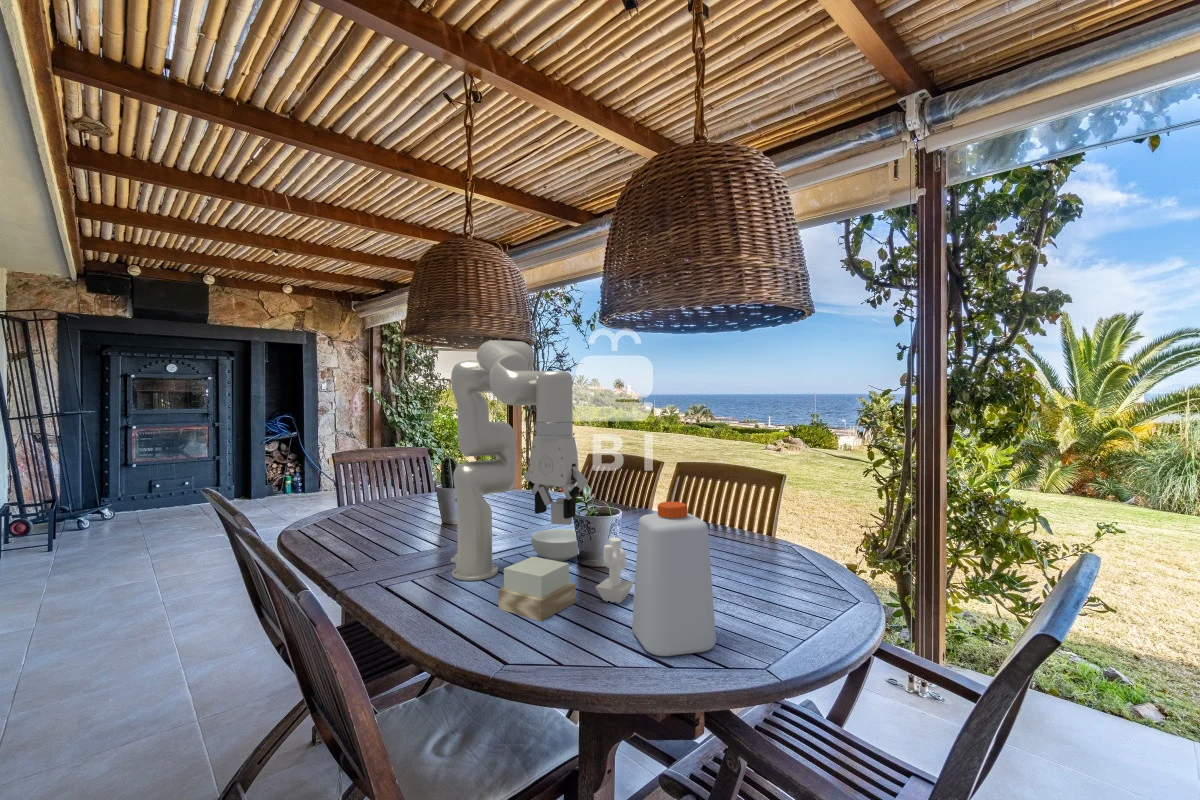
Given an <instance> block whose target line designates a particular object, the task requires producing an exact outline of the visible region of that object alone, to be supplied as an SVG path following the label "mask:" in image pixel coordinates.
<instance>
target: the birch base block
mask: <svg viewBox="0 0 1200 800" xmlns="http://www.w3.org/2000/svg"><path fill="white" fill-rule="evenodd" d="M576 585H577V584H576V583H573V582H570V581H569V584H568V585H566V586H564V587H562V588H560V589H558V590H557V591H555V592H553V593H551V594H549V595H547V596H545V597H543V598H542V599H541V598H537V597H533V596H529V595H524V594H520V593H516V592H512V591H508V590H504V586H503V587H501V588H498V590H497V591H498V595H497V596H498V598H497V599H498V609H499V610H502V611H505V612H507V613H511V614H515V615H518V616H522V617H525V618H529V619H532V620H535V621H538V622H542V621H544V620H546V619H548V618H550V617H552V616H553V615H555V614H557V613H559V612H561V611H563V610H565V609H566V607H567V608H568V607H571V606H573V605H574V604H576V603H577V602H576V599H577V597H576V596H577V594H576ZM575 602H576V603H575Z"/></svg>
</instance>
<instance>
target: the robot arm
mask: <svg viewBox="0 0 1200 800" xmlns="http://www.w3.org/2000/svg"><path fill="white" fill-rule="evenodd" d="M534 364H535V354H534V351H533V349H532V347H531V346H530V345H529V343H526V342H525V341H518V340H516V341H515V340H497V339H496V340H495V339H494V340H493V339H492V340H488V341H486V342H484V343H482V344H481V345H480V346H479V347H478V349H477V352H476V359H474V360H473V359H472V360H464V361H463V360H462V361H460V362H457V363H456V364H455V365H454V366H453V367H452V370H451V376H450V377H451V378H450V382H451V388H452V389H451V390H452V394H453V395H454V399H455V401H456V406H457V436H458V437H457V439H458V440H457V441H458V449H459V452H460V453H461V454H462V455H463V456H466V457H483V456H484V457H485V456H487V457H488V456H495V458H496V459H489V460H488V459H487V460H473V461H471V460H470V461H466V462H463V463H461V464H458V465H457V466H456V468H455V469H454V471H453V475H452V476H453V477H452V479H453V485H454V492H455V496H456V497H455V498H456V515H457V517H456V518H457V521H456V522H457V525H456V526H457V530H456V531H457V553H455V554H454V557H451V559H450V562H451V563H452V564H453V563H454V564H455V568H453V569H452V572H451V576H452V577H453V578H454V579H456V580H459V581H466V582H467V581H469V582H470V581H480V580H481V581H482V580H486V579H489V578H492V577H494V576H497V574H498V572H499V567H498V566H497V565H495V564H493V511H492V507H491V505H490V504H489V503H488V501H487V500H486V499H485V498H484V496H486V495H492V494H500V493H501V494H502V493H507V492H510V491H512V490H513V489H514V487H515V485H516V482H517V481H516V480H517V454H516V453H517V452H516V450H517V446H516V444H517V443H516V442H517V441H516V435H515V431H514V429H513V427H512V426H511V425H510V424H509V422H506V421H490V417H489V415H490V413H489V412H490V411H489V410H490V408H489V405H488V402H487V400H486V399H485V397H484V396H483V395H482V393H481V392H491V393H492V395H493V396H494V397H495V398H497V400H499V401H500V402H501V403H503V404H505V405H508V406H517V407H518V406H536V423H534V425H533V428H534V429H533V430H534V431H536V435H535V436H533V439H532V442H531V448H530V455H529V456H530V457H529V469H528V470H527V471H526V472H525V473H524V474H523V476H524V479H525V480H526V481H527V484H528V486H529V488H530V489H531V493H532V495H534V514H536V515H538V514H542V513H545V512H547V508H548V505H547V506H545V504H544V502H543V499H542V497H541V495H540V493H539V491H538V489H537V488H538V487H540V486H542V485H546V487H547V486H548V487H555V488H556V487H557V488H561V489H562V491H563V493H564V496H565V498H566V499H564V501H563V508H564V518H565V519H568V518H571V517H572V518H574V517H575V516H576V511H577V507H576V506H577V504H576V502H577V501H576V500H577V499H576V498H579V495H580V493H581V492H582V491H583V489H584V488H585V486H586V485H587V484H588V479H587V478H586V477H585V476H584V474H583V473H582V472H581V471H580V470H579V457H578V449H577V442H576V438H575V436H573V433H574V432H573V423H574V422H573V420H574V418H573V417H574V416H573V410H574V409H573V376H572V374H571V373H570V372H568V371H563V370H562V371H560V370H544V371H543V370H532V369H533V367H534Z"/></svg>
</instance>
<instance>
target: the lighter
mask: <svg viewBox="0 0 1200 800" xmlns="http://www.w3.org/2000/svg"><path fill="white" fill-rule="evenodd" d="M537 489H538V491H539V493H540V495H541V497H542V499H543V502H544V504H545V506H547V507H548V505H551V506H550V508H551V509H550V511H551V512H550V517H551V519H550V520H551V521H550V522H551V523H550V524H551V525H562V526H563V525H565V526H569V525H572V524H573V517H571V518H568V519H565V518H564V508H563V501H564V499H566V497H557V498H556V501H553V498H552V496H551V494H550V492H549V490H548V488H547V486H546V485H542V486H540V487H538V488H537Z"/></svg>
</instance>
